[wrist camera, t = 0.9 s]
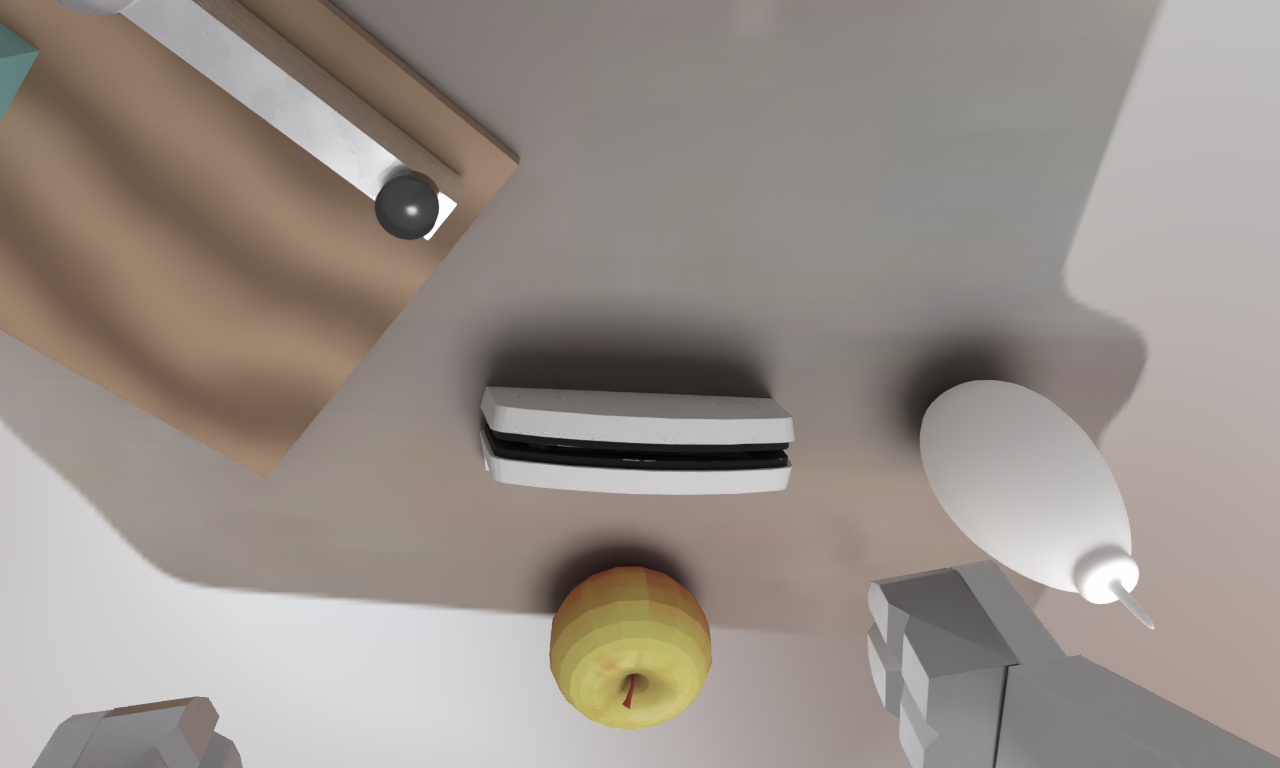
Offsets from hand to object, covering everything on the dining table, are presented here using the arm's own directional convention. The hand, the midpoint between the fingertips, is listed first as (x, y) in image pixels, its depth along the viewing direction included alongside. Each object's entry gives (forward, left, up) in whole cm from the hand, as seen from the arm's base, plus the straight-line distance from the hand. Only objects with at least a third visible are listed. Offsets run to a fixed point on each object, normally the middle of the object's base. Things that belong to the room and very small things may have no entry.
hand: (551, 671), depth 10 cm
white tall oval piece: (-4, +28, -33) cm, 44 cm away
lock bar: (+5, -10, -31) cm, 33 cm away
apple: (+19, +22, -33) cm, 44 cm away
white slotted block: (+9, +13, -33) cm, 37 cm away
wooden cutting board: (+12, -10, -33) cm, 37 cm away
